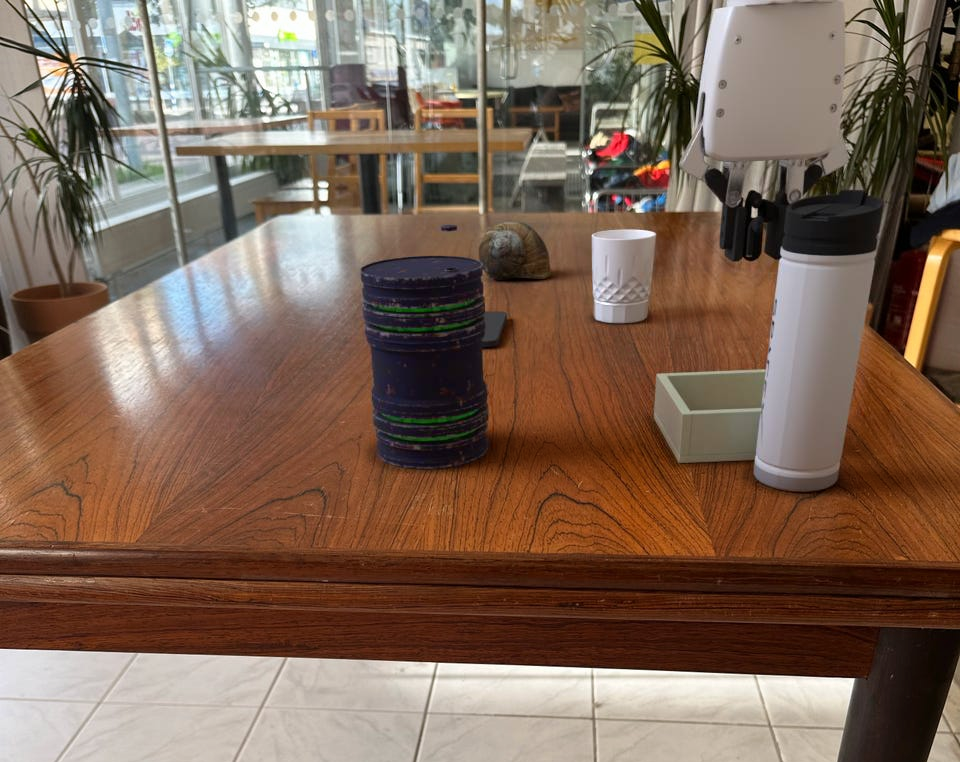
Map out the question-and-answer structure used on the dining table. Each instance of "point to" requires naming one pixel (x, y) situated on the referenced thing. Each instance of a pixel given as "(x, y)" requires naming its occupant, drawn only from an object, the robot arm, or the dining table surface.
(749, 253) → the wireless earbuds
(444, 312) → the storage jar
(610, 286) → the white cup
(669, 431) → the box
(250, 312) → the dining table surface
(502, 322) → the phone
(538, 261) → the seashell
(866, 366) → the dining table surface
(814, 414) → the travel mug
